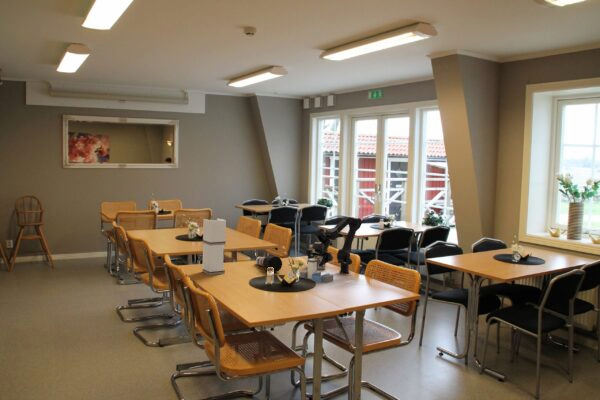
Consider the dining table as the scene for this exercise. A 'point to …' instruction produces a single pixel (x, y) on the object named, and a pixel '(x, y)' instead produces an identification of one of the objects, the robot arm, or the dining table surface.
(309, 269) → the plug
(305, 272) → the grey compartment tray
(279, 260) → the black bottle
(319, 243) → the decorative jar
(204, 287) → the dining table surface
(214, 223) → the white stacked pillar
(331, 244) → the robot arm
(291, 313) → the dining table surface
